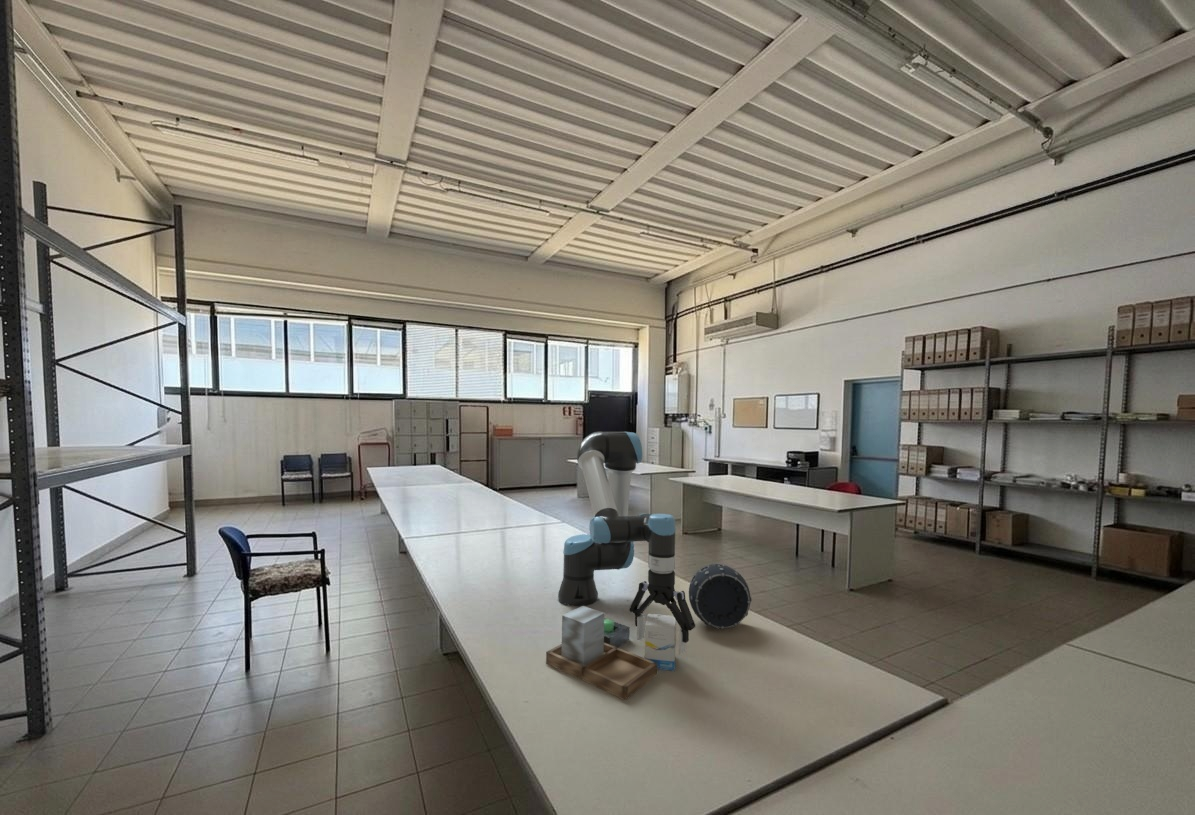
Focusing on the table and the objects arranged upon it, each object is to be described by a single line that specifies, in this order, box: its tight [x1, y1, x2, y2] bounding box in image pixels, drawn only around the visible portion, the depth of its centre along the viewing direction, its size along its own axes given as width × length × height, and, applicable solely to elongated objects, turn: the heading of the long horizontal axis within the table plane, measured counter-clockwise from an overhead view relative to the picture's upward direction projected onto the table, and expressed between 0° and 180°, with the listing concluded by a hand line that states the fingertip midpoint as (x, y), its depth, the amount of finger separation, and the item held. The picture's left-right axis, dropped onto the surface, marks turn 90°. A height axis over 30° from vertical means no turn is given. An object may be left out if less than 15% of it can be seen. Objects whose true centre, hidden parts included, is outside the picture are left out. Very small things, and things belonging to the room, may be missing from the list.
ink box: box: [643, 613, 677, 671], centre depth 133 cm, size 9×8×12 cm
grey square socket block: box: [604, 617, 631, 648], centre depth 145 cm, size 10×10×4 cm
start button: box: [604, 618, 615, 633], centre depth 145 cm, size 4×4×5 cm
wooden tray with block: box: [545, 606, 658, 701], centre depth 129 cm, size 27×15×13 cm, turn 52°
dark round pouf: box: [688, 563, 753, 630], centre depth 157 cm, size 11×20×20 cm, turn 89°
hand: (660, 645), depth 133 cm, fingers open, 13 cm apart
